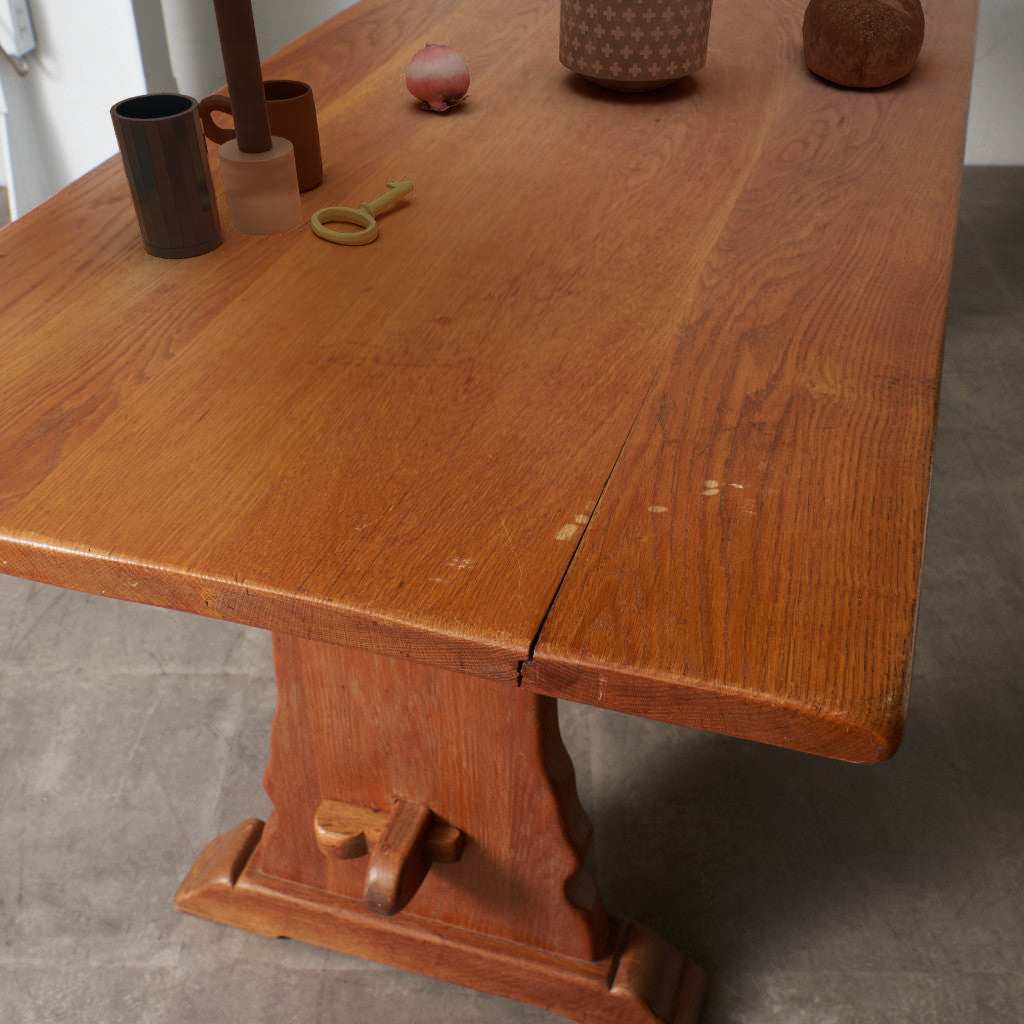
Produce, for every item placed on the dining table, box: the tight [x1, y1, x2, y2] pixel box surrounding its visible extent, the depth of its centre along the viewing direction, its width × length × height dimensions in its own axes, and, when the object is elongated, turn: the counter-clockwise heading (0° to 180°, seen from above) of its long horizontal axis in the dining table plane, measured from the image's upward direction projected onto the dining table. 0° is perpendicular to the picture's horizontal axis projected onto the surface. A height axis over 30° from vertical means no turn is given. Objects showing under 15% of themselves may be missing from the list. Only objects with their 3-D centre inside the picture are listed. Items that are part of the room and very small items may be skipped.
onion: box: [405, 42, 471, 112], centre depth 124 cm, size 8×8×7 cm
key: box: [310, 179, 415, 246], centre depth 99 cm, size 7×12×2 cm, turn 161°
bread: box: [801, 0, 926, 89], centre depth 137 cm, size 16×29×11 cm, turn 167°
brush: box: [212, 0, 304, 237], centre depth 63 cm, size 5×5×18 cm
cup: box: [109, 92, 225, 259], centre depth 92 cm, size 7×7×12 cm
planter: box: [558, 0, 714, 93], centre depth 127 cm, size 19×19×18 cm
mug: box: [198, 79, 324, 193], centre depth 104 cm, size 12×8×9 cm, turn 97°
